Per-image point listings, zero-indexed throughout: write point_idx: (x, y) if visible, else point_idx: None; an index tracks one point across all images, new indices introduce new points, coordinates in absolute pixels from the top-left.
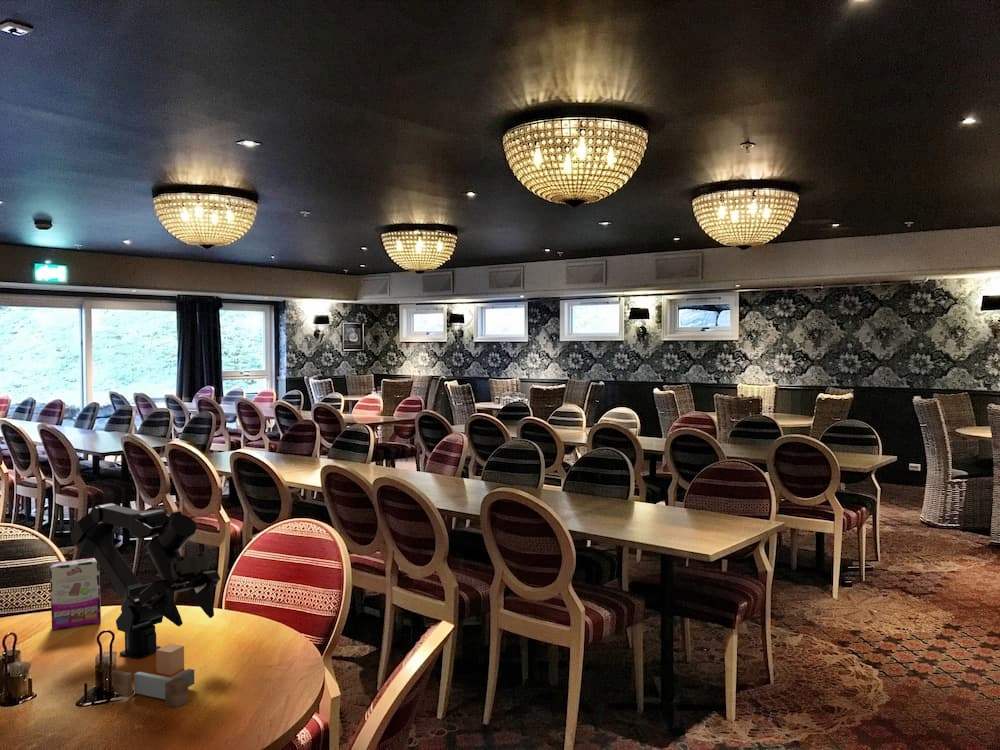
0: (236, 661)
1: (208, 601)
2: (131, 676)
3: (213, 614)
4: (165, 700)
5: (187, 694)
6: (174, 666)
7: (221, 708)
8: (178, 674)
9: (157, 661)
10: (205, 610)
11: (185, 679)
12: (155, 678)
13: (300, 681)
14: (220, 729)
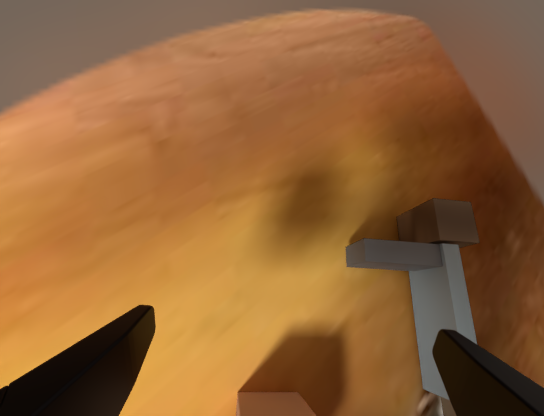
0: (149, 253)
1: (60, 405)
2: None
3: (142, 306)
4: None
5: (408, 212)
6: (285, 399)
7: (385, 135)
8: (409, 260)
9: None
10: (116, 402)
11: (435, 205)
12: (468, 304)
13: (225, 52)
14: (439, 97)
